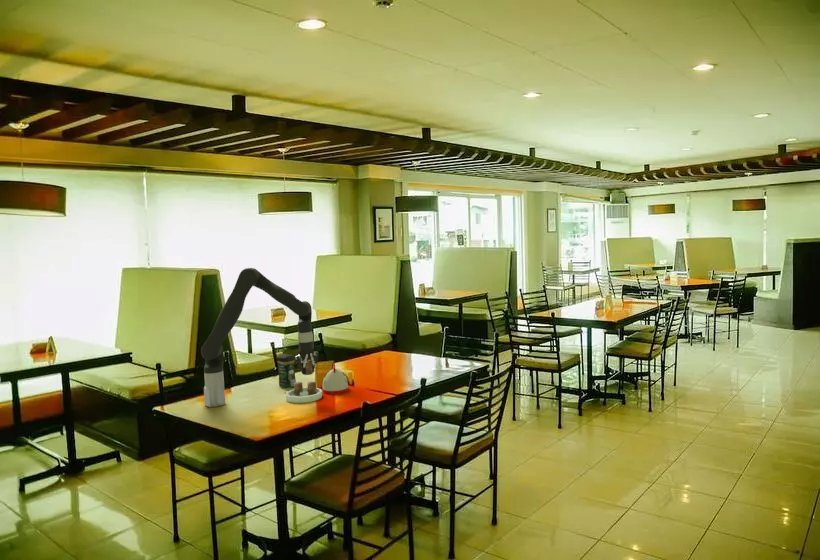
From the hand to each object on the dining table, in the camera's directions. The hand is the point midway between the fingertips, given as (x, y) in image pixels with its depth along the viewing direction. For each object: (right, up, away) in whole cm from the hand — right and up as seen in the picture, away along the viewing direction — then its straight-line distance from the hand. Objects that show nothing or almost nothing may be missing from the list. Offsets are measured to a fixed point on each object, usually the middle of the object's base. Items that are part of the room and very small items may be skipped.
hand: (308, 373), depth 291 cm
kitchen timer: (+12, -12, +17) cm, 24 cm away
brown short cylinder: (0, 0, 0) cm, 0 cm away
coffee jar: (-17, -13, +31) cm, 37 cm away
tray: (-3, -14, +5) cm, 15 cm away
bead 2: (+1, -12, +9) cm, 15 cm away
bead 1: (-7, -13, +9) cm, 17 cm away
